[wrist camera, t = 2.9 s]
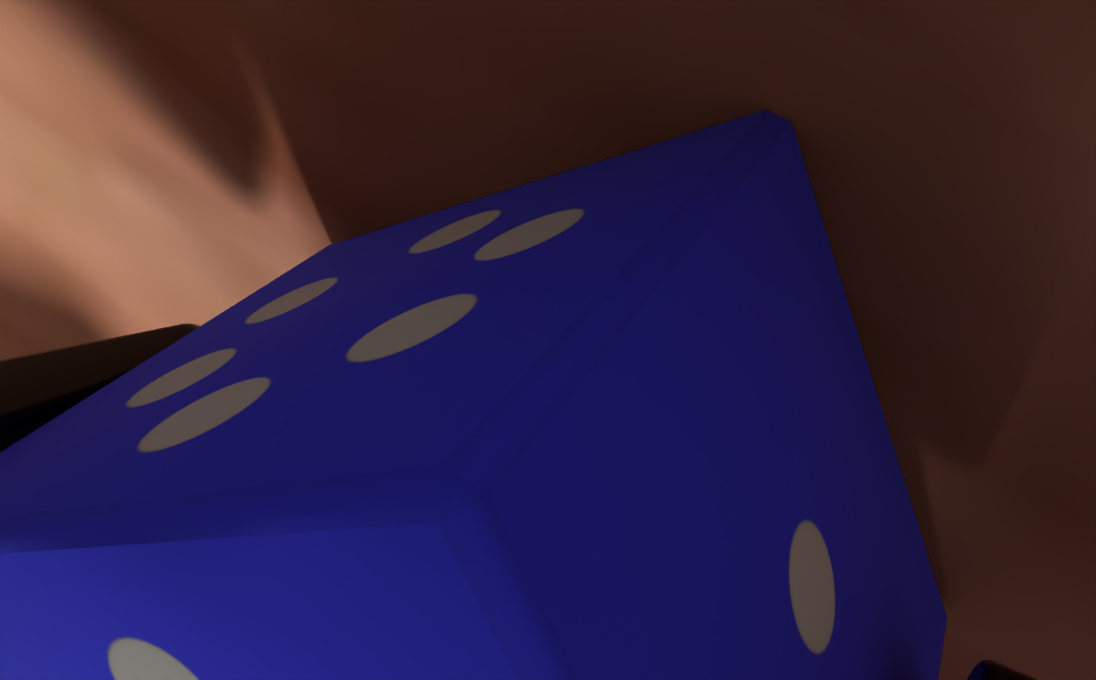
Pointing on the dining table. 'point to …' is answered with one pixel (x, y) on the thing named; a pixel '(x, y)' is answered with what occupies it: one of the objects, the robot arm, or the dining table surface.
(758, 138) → the die
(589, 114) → the dining table surface
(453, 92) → the dining table surface
